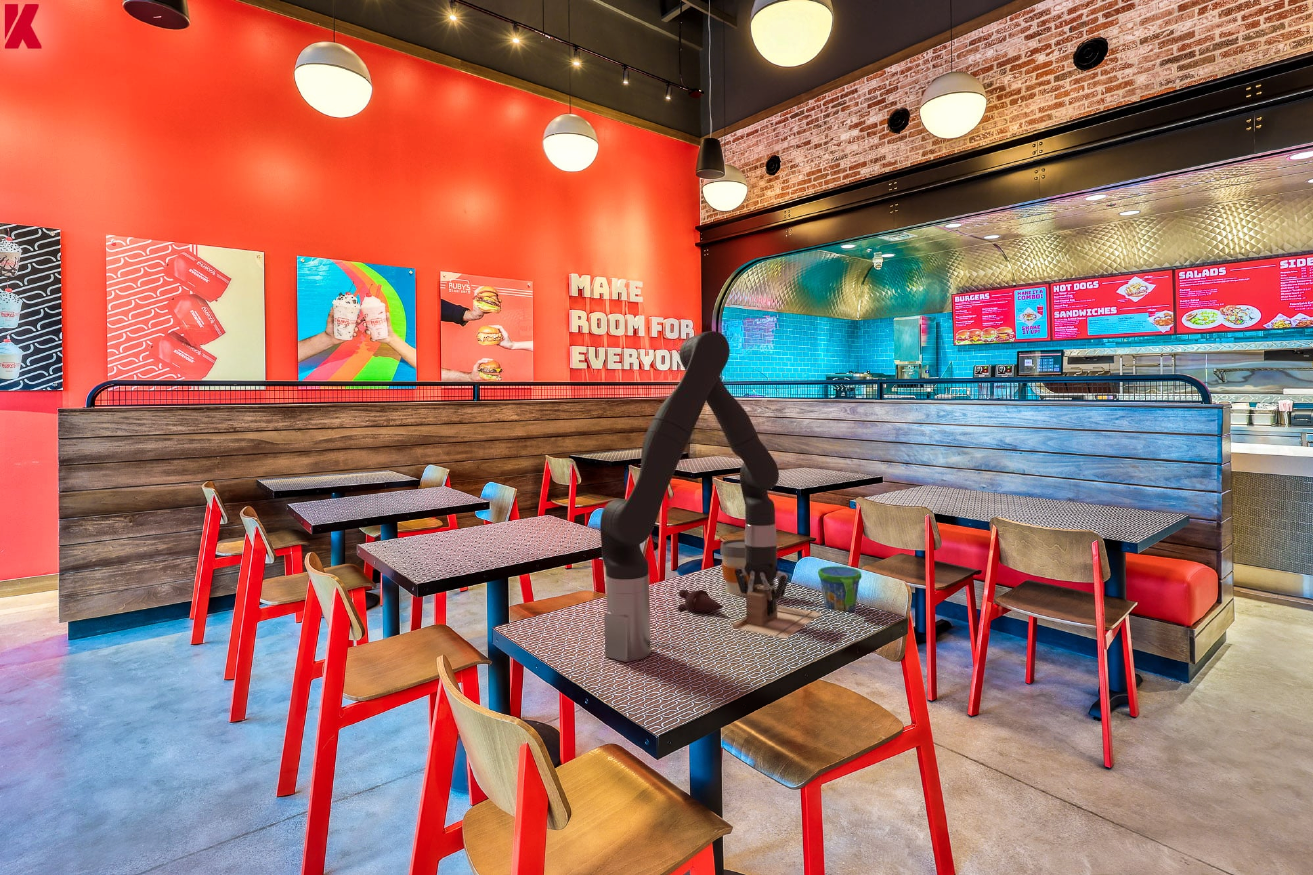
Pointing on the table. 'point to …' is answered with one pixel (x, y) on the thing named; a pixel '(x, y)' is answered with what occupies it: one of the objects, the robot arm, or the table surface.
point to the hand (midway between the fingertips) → (762, 612)
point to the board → (780, 622)
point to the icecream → (697, 602)
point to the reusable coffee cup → (733, 564)
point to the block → (758, 607)
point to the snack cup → (840, 587)
